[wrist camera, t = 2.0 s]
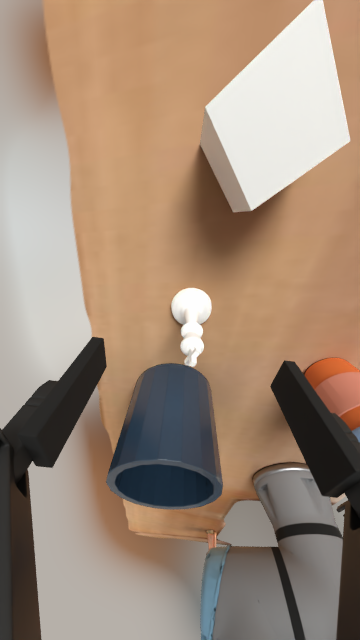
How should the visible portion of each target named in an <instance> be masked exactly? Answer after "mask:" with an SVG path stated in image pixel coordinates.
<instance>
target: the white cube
mask: <svg viewBox="0 0 360 640" xmlns="http://www.w3.org/2000/svg"><path fill="white" fill-rule="evenodd" d="M348 142H350V136H349V131H348V126H347V121H346V116H345V111H344V106H343V101H342V96H341V91H340V86H339V81H338V76H337V70H336V65H335V60H334V55H333V50H332V45H331V40H330V35H329V30H328V25H327V20H326V15H325V10H324V5H323V0H314V1H313V2H312V3H311V4H310V5H309V6H308V7H307V8H306V9H305V10H304V11H303V12H302V13H300V14H299V15H298V16H297V17H296V18H295V19H294V20H293V21H292V22H291V23H290V24H289V25H288V26H287V27H286V28H285V29H284V30H283V31H282V32H281V33H280V34H279V35H278V36H277V37H276V38H275V39H274V40H273V41H272V42H271V43H270V44H269V45H268V46H267V47H266V48H265V49H264V50H263V51H262V52H261V53H260V54H259V55H258V56H257V57H256V58H255V59H254V60H253V61H252V62H251V63H250V64H248V65H247V66H246V67H245V68H244V69H243V70H242V71H241V72H240V73H239V74H238V75H237V76H236V77H235V78H234V79H233V80H232V81H231V82H230V83H229V84H228V85H227V86H226V87H225V88H224V89H223V90H222V91H221V92H220V93H219V94H218V95H217V96H216V97H215V98H214V99H213V100H212V101H211V102H210V103H209V104H208V105H207V106H206V107H205V112H204V119H203V126H202V132H201V139H200V145H201V147H202V149H203V151H204V153H205V156H206V158H207V160H208V162H209V164H210V166H211V168H212V170H213V172H214V174H215V176H216V178H217V180H218V182H219V184H220V186H221V188H222V190H223V193H224V195H225V197H226V199H227V201H228V203H229V205H230V207H231V209H232V211H233V212H244V211H252V210H254V209H255V208H256V207H258V206H259V205H261V204H262V203H264V202H265V201H266V200H268V199H269V198H271V197H272V196H273V195H275V194H276V193H278V192H279V191H280V190H282V189H283V188H285V187H286V186H288V185H289V184H290V183H292V182H293V181H295V180H296V179H297V178H299V177H300V176H302V175H303V174H304V173H306V172H307V171H309V170H310V169H311V168H313V167H314V166H316V165H317V164H319V163H320V162H321V161H323V160H324V159H326V158H327V157H328V156H330V155H331V154H333V153H334V152H335V151H337V150H338V149H340V148H341V147H343V146H344V145H345V144H347V143H348Z"/></svg>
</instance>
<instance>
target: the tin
mask: <svg viewBox="0 0 360 640" xmlns="http://www.w3.org/2000/svg"><path fill="white" fill-rule="evenodd" d="M106 483H107V485H108V486H109V488H110V490H111V491H113V492H114V493H115V494H117V495H118V496H119V497H121V498H123V499H125V500H128V501H130V502H133V503H135V504H139V505H143V506H147V507H152V508H160V509H189V508H195V507H201V506H204V505H206V504H209V503H211V502H213V501H215V500H216V499H217V498H218V497H219V496H221V494H222V488H223V482H222V474H221V466H220V458H219V450H218V442H217V434H216V426H215V418H214V410H213V402H212V394H211V388H210V385H209V382H208V381H207V379H206V378H205V377H204V376H203V375H202V374H201V373H200V372H198V371H197V370H195V369H193V368H191V367H189V366H185V365H181V364H172V363H171V364H161V365H157V366H154V367H151V368H149V369H148V370H146V371H145V372H144V373H142V374H141V376H140V377H139V379H138V381H137V383H136V386H135V390H134V393H133V396H132V399H131V402H130V405H129V409H128V412H127V415H126V418H125V421H124V424H123V428H122V431H121V434H120V437H119V440H118V443H117V447H116V450H115V453H114V456H113V459H112V462H111V466H110V469H109V472H108V476H107V480H106Z"/></svg>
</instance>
